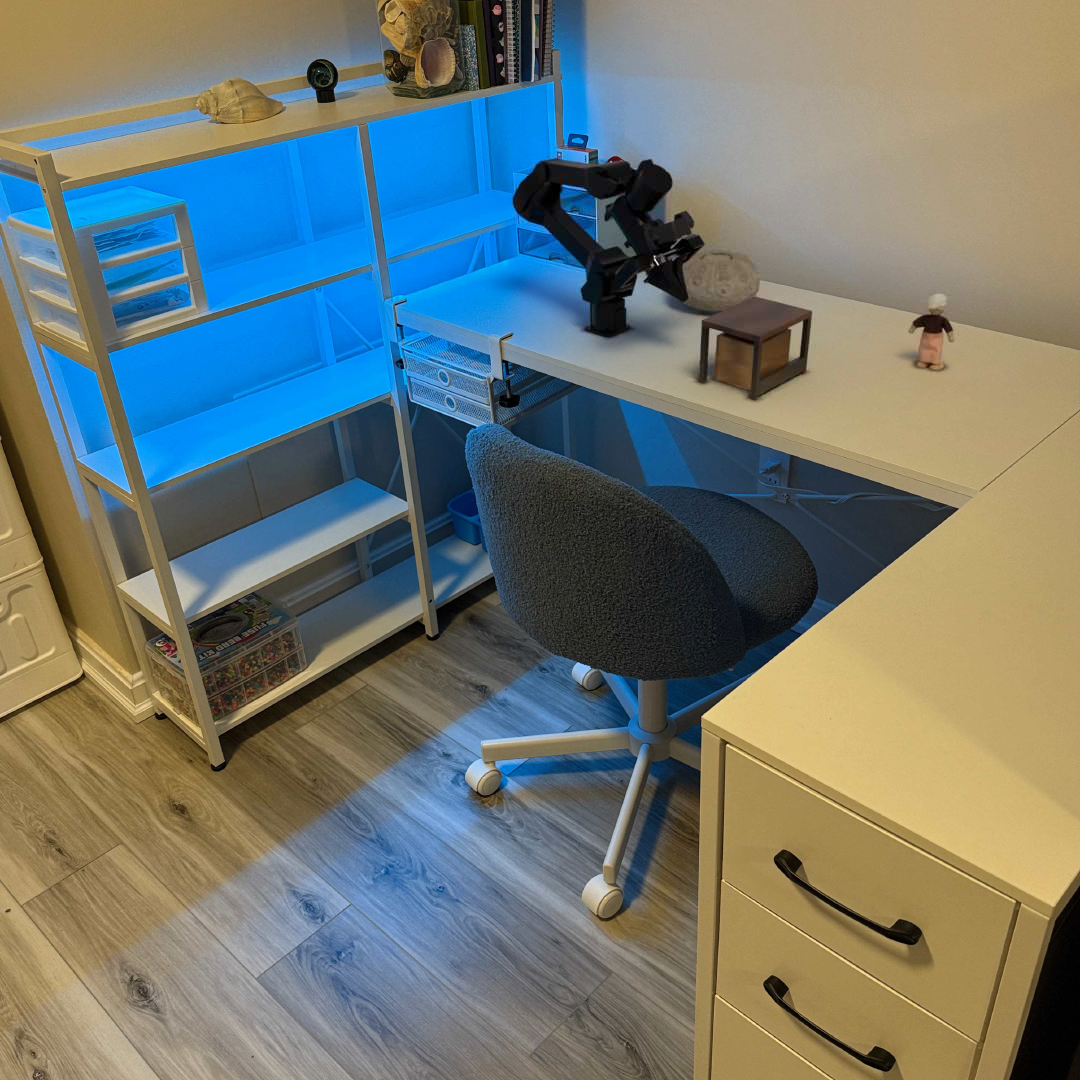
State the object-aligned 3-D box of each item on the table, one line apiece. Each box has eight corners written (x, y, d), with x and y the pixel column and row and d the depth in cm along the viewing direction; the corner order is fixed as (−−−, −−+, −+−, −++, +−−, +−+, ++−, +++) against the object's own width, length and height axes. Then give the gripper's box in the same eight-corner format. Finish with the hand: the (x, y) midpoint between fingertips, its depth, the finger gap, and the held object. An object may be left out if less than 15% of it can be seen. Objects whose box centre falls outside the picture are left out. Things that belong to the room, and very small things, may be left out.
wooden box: (714, 379, 178) (716, 335, 174) (748, 362, 184) (752, 318, 180) (753, 392, 174) (756, 346, 169) (787, 373, 179) (791, 329, 175)
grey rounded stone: (653, 310, 208) (654, 261, 203) (691, 284, 220) (693, 237, 215) (737, 325, 200) (741, 273, 194) (771, 296, 212) (775, 247, 207)
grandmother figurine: (951, 364, 180) (964, 292, 173) (948, 372, 177) (961, 300, 170) (904, 358, 183) (915, 288, 176) (901, 366, 180) (912, 295, 173)
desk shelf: (698, 382, 178) (701, 320, 172) (750, 355, 187) (755, 296, 181) (754, 400, 171) (759, 336, 165) (806, 372, 180) (812, 310, 174)
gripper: (628, 210, 171) (679, 289, 170) (698, 187, 182) (746, 261, 181) (593, 249, 180) (641, 324, 180) (662, 225, 191) (708, 296, 190)
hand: (685, 300), depth 182 cm, fingers closed
